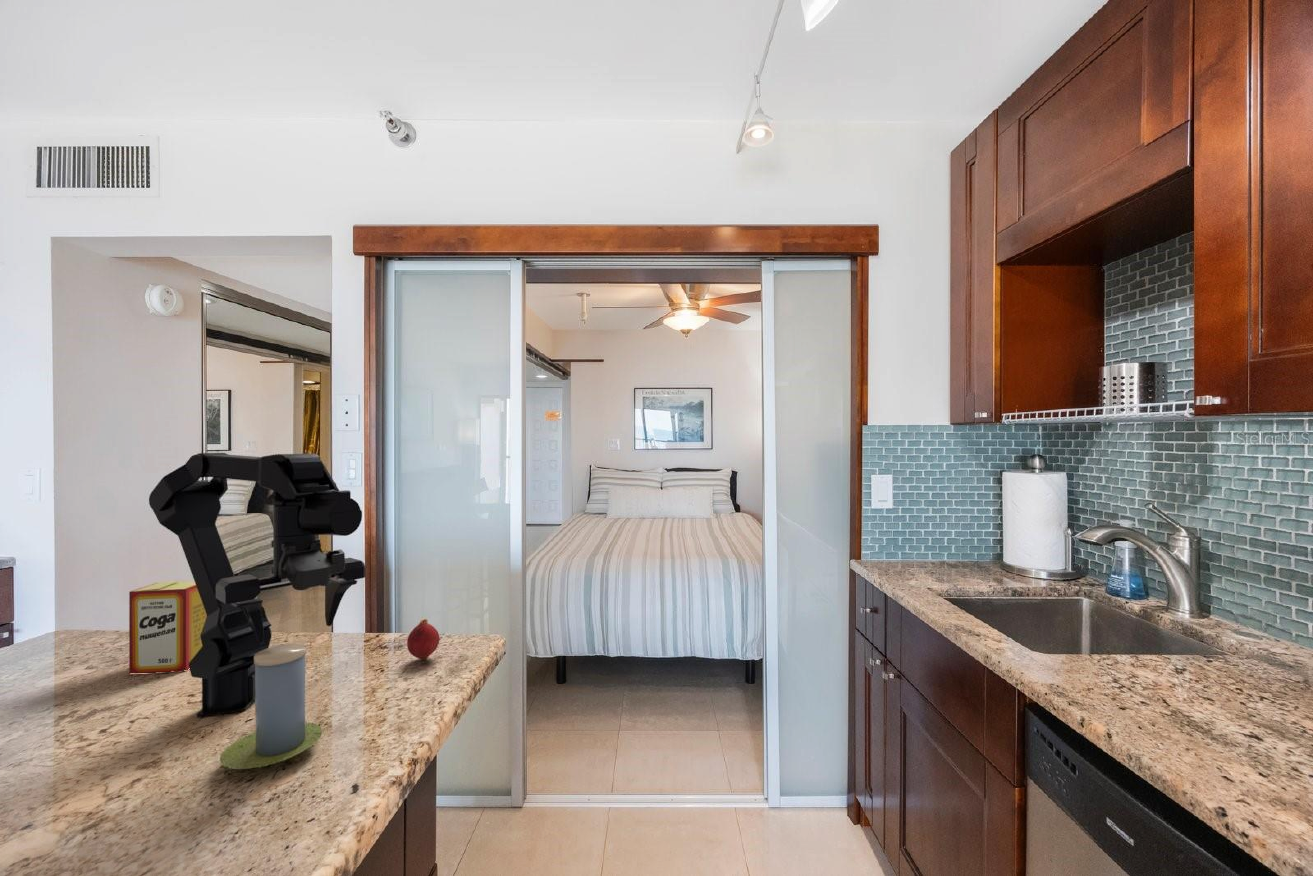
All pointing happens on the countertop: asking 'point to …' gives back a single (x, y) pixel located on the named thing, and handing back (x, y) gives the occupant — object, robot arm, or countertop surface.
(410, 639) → the onion
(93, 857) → the countertop surface
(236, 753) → the mat
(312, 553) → the robot arm
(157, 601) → the baking soda box
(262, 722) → the canister
